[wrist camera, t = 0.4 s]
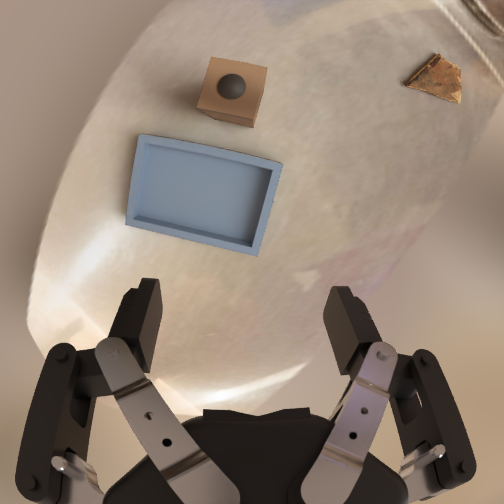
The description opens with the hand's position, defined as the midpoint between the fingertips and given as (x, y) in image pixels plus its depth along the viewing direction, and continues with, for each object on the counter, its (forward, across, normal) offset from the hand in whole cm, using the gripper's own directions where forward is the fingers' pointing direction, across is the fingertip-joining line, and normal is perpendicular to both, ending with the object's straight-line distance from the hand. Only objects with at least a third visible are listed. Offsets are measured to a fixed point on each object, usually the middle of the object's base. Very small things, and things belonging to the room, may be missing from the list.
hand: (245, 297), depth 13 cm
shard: (+28, -29, -16) cm, 43 cm away
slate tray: (+26, +4, +5) cm, 26 cm away
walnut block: (+28, 0, -7) cm, 28 cm away
